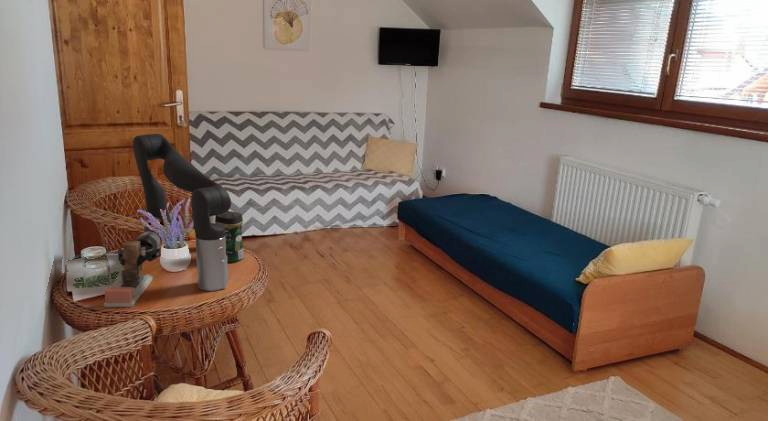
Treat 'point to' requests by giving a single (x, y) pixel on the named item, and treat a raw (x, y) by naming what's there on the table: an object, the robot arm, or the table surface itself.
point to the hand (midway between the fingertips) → (130, 262)
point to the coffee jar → (232, 234)
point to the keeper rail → (125, 294)
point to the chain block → (132, 264)
